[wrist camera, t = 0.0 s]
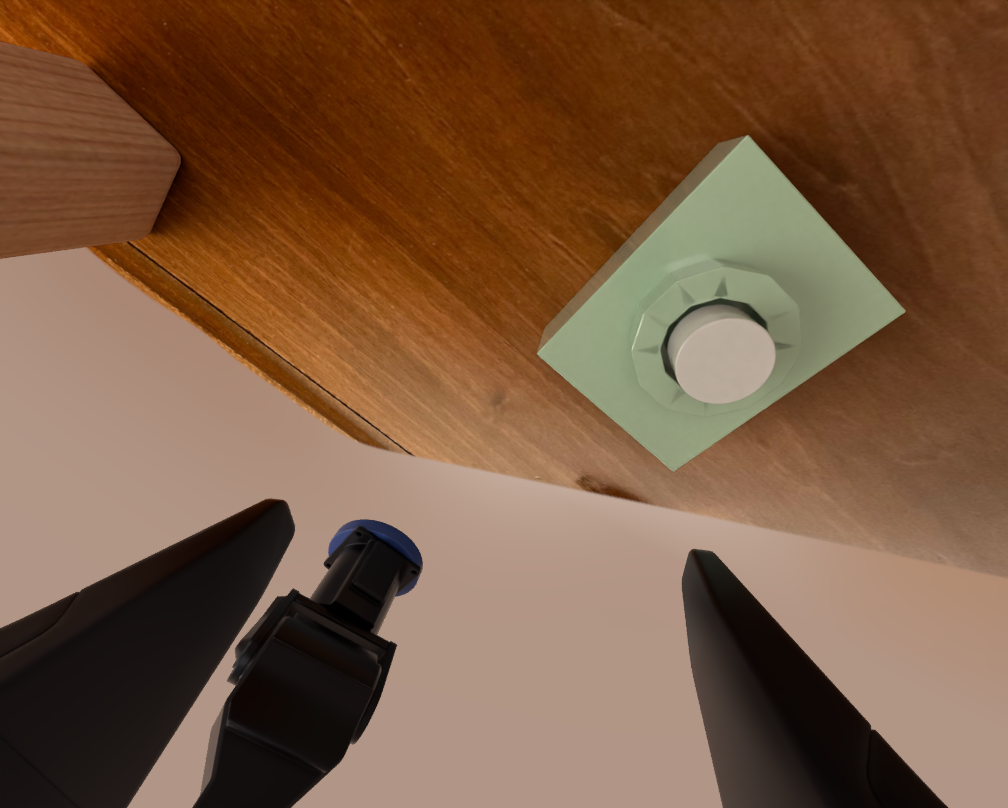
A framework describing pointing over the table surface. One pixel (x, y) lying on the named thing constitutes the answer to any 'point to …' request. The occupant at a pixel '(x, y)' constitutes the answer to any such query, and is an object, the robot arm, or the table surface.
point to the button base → (714, 300)
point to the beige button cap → (720, 354)
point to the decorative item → (73, 158)
